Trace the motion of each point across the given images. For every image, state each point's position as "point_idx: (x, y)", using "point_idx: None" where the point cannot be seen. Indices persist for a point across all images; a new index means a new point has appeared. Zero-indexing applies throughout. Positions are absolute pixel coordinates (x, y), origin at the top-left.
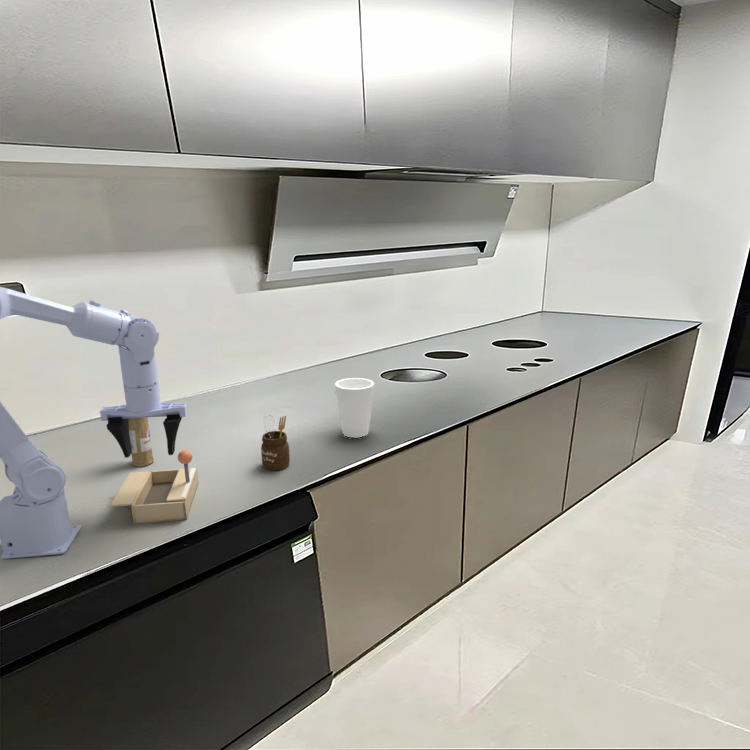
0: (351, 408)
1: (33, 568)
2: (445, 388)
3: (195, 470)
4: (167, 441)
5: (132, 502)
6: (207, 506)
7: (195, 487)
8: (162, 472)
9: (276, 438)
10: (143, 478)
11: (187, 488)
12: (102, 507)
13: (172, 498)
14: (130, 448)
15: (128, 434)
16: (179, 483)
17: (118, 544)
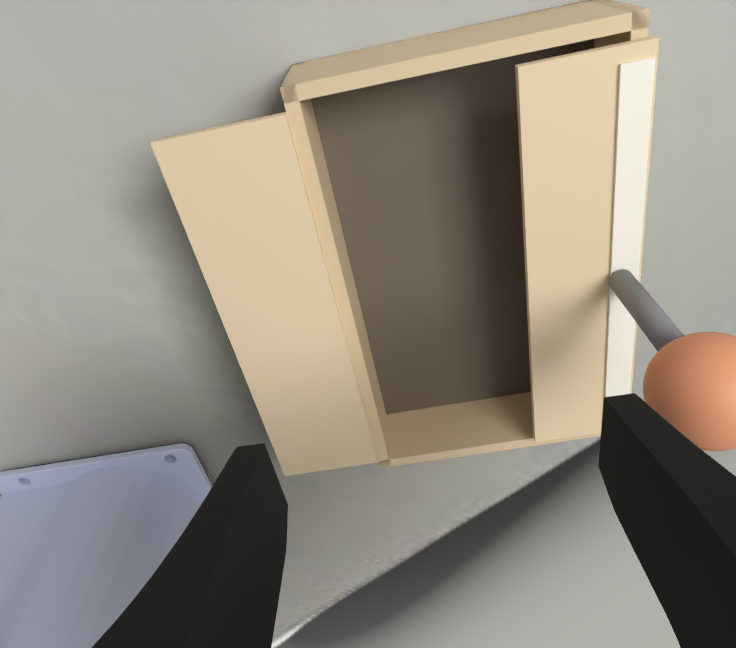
0: None
1: None
2: None
3: (653, 100)
4: (666, 607)
5: (376, 455)
6: (673, 274)
7: None
8: (378, 81)
9: None
10: (302, 225)
11: (627, 351)
12: (155, 301)
13: (562, 429)
14: (262, 497)
15: (217, 607)
16: (567, 291)
17: (384, 503)
